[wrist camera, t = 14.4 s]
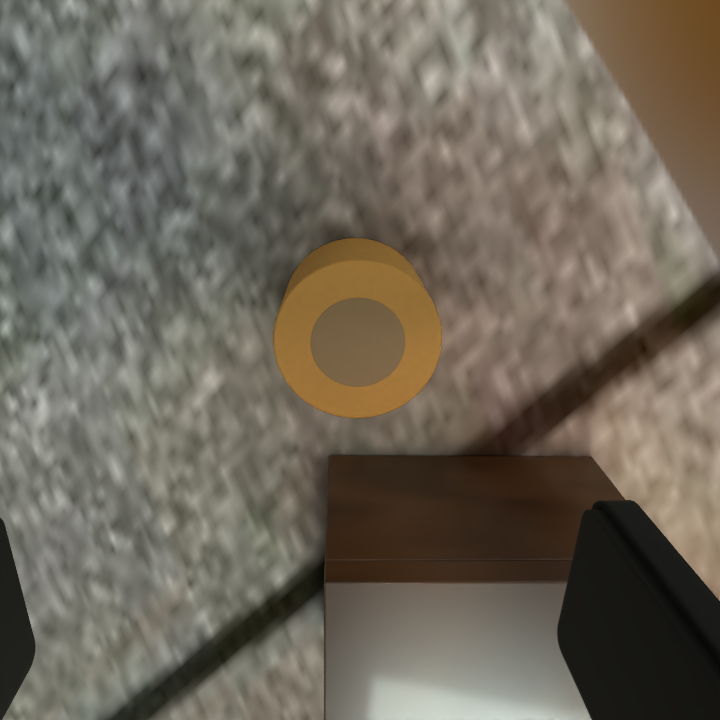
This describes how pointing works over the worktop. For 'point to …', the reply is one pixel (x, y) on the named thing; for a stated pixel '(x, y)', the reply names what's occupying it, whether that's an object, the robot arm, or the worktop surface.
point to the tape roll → (356, 330)
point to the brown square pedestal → (452, 585)
